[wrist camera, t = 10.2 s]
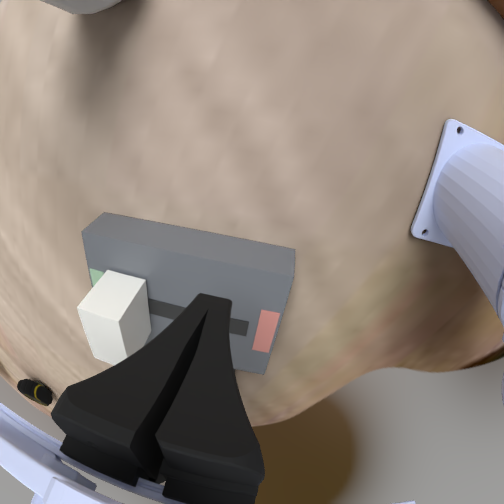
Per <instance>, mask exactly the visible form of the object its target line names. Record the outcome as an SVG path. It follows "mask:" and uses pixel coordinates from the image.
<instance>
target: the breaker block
mask: <svg viewBox="0 0 504 504" xmlns="http://www.w3.org/2000/svg"><path fill="white" fill-rule="evenodd" d="M82 237H83V243H84V249H85V254H86V260H87V265H88V270H89V275H90V279H91V284H92V288H93V287H94V285H95V284H96V283H97V282H98V281H99V279H100V278H101V277H102V276H103V275H104V273H105V272H106V271H107V270H110V271H114V272H118V273H122V274H125V275H129V276H133V277H137V278H141V279H145V280H146V287H147V297H148V307H149V315H150V323H151V333H150V335H149V337H148V339H147V341H146V342H145V344H144V346H145V345H146V344H147V343H149V342H150V341H151V340H152V339H154V338H155V337H156V336H157V335H158V334H159V333H161V332H162V331H163V330H164V329H165V328H166V327H167V326H168V325H169V324H170V323H172V322H173V321H174V320H175V319H176V318H177V317H178V316H179V315H180V314H181V313H182V312H183V310H184V309H185V308H186V307H187V306H188V305H189V304H190V303H191V302H192V301H193V299H194V298H195V297H196V296H197V295H198V294H199V293H203V294H208V295H212V296H217V297H222V298H226V299H230V300H231V301H232V309H231V317H230V326H229V336H230V349H231V356H232V363H233V368H234V369H238V370H242V371H247V372H253V373H258V374H263V375H264V374H265V371H266V367H267V364H268V361H269V358H270V355H271V352H272V349H273V345H274V342H275V339H276V336H277V333H278V329H279V326H280V323H281V319H282V316H283V313H284V309H285V306H286V303H287V299H288V296H289V292H290V289H291V285H292V282H293V278H294V266H295V249H291V248H286V247H281V246H276V245H271V244H266V243H261V242H256V241H251V240H246V239H241V238H236V237H231V236H226V235H221V234H216V233H211V232H206V231H200V230H195V229H190V228H185V227H180V226H174V225H169V224H164V223H159V222H153V221H148V220H143V219H137V218H132V217H127V216H121V215H116V214H110V213H105V212H104V213H103V214H102V215H100V216H99V217H98V218H97V219H96V220H94V221H93V222H92V223H91V224H90V225H89V226H87V227H86V228H85V229H84V230H83V231H82Z"/></svg>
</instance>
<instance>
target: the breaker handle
mask: <svg viewBox="0 0 504 504" xmlns="http://www.w3.org/2000/svg"><path fill="white" fill-rule="evenodd" d="M77 309H78V313H79V316H80V319H81V322H82V325H83V328H84V331H85V333H86V336H87V339H88V342H89V345H90V347H91V350H92V352H93V355H94V358H96V359H99V360H102V361H104V362H107V363H110V364H112V365H116V364H118V363H119V362H121V361H123V360H124V359H126V358H127V357H129V356H131V355H132V354H134V353H135V352H136V351H138V350H139V349H141V348H142V347H143V346H144V344H145V342H146V341H147V339H148V337H149V335H150V333H151V323H150V315H149V307H148V297H147V287H146V280H145V279H141V278H137V277H133V276H129V275H125V274H122V273H118V272H114V271H110V270H107V271H106V272H105V273H104V275H103V276H102V277H101V278H100V279H99V281H98V282H97V283H96V284H95V285H94V287H93V288H92V289H91V290H90V292H89V293H88V294H87V295H86V297H85V298H84V299H83V300H82V302H81V303H80V304H79V306H78V307H77Z"/></svg>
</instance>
